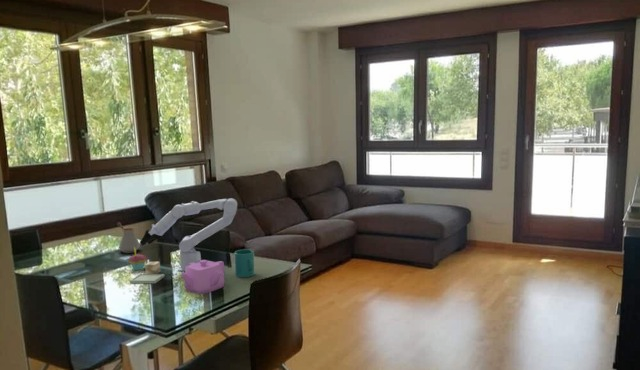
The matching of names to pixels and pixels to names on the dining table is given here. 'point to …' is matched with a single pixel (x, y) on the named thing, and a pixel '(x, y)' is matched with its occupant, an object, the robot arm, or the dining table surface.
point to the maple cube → (152, 267)
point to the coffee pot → (128, 240)
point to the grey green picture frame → (147, 278)
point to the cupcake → (137, 261)
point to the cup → (244, 263)
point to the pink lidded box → (204, 276)
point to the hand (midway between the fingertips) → (144, 243)
